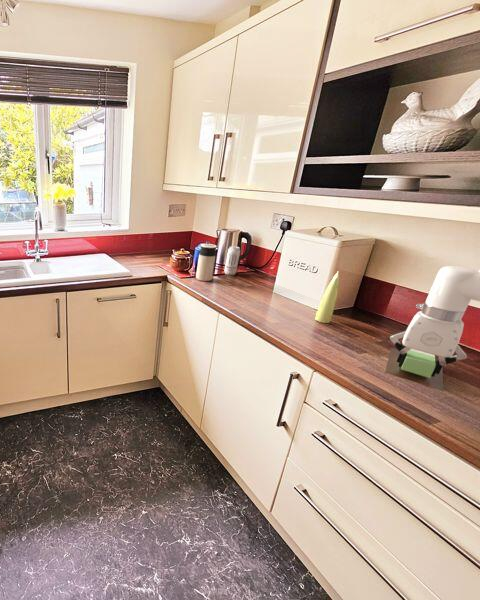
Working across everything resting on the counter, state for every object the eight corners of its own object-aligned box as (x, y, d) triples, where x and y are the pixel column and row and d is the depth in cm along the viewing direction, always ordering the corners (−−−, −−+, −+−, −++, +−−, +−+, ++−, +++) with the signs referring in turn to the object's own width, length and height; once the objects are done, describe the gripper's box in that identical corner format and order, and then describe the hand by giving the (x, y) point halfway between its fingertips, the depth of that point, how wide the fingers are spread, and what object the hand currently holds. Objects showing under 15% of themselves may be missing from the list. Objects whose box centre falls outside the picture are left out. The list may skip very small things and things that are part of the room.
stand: (441, 363, 103) (442, 362, 103) (442, 392, 90) (443, 390, 90) (390, 349, 111) (391, 347, 111) (384, 373, 98) (384, 372, 97)
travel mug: (214, 280, 174) (220, 246, 167) (201, 281, 172) (206, 247, 165) (206, 276, 181) (211, 243, 174) (192, 277, 179) (197, 244, 173)
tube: (334, 324, 128) (350, 275, 120) (321, 324, 127) (337, 275, 120) (323, 317, 133) (338, 270, 126) (311, 318, 133) (325, 271, 125)
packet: (428, 363, 102) (434, 351, 101) (430, 378, 92) (436, 365, 91) (402, 355, 106) (407, 344, 105) (400, 369, 96) (406, 356, 95)
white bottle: (223, 274, 184) (228, 247, 178) (224, 271, 189) (228, 245, 183) (235, 276, 182) (240, 249, 176) (235, 273, 187) (240, 246, 181)
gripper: (397, 307, 92) (375, 363, 99) (492, 327, 81) (459, 388, 88) (399, 300, 97) (378, 353, 104) (488, 318, 86) (458, 376, 93)
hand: (415, 369), depth 96 cm, fingers closed on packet, 6 cm apart
